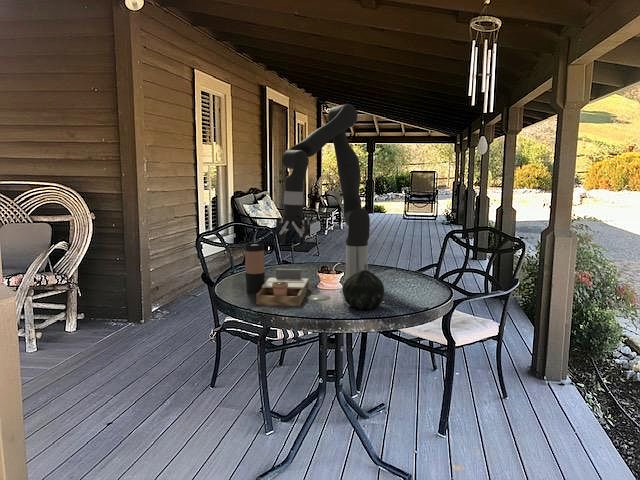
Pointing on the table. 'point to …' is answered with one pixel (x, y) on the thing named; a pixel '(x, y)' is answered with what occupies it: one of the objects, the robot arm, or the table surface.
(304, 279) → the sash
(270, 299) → the box
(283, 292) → the pot
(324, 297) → the saucer
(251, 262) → the travel mug
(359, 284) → the squash
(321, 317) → the table surface
